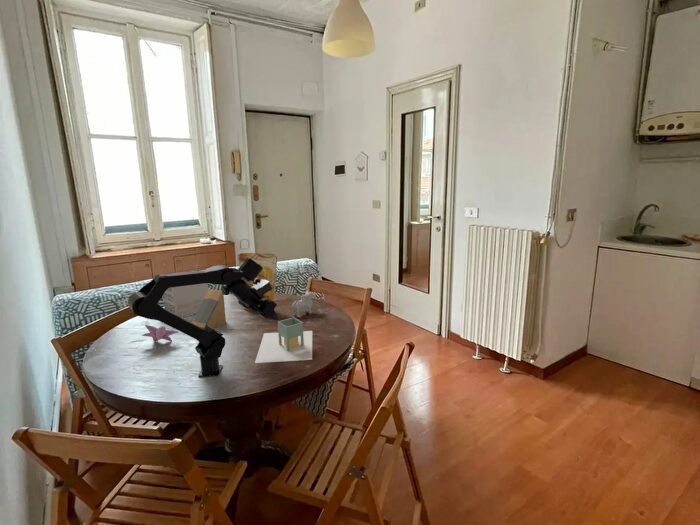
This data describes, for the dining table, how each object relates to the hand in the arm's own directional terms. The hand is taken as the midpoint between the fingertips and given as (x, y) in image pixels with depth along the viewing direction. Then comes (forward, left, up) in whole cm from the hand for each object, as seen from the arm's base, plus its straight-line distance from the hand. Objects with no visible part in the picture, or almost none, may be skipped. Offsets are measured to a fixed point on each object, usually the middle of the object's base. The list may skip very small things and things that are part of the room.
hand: (271, 316), depth 136 cm
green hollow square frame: (+2, -7, -13) cm, 15 cm away
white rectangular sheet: (+2, -5, -13) cm, 14 cm away
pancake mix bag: (+45, +11, -14) cm, 48 cm away
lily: (+9, +44, -14) cm, 47 cm away
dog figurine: (+36, -11, -14) cm, 40 cm away
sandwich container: (+25, +32, -14) cm, 43 cm away
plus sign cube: (+2, -7, -13) cm, 15 cm away
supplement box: (+46, +46, -14) cm, 67 cm away
